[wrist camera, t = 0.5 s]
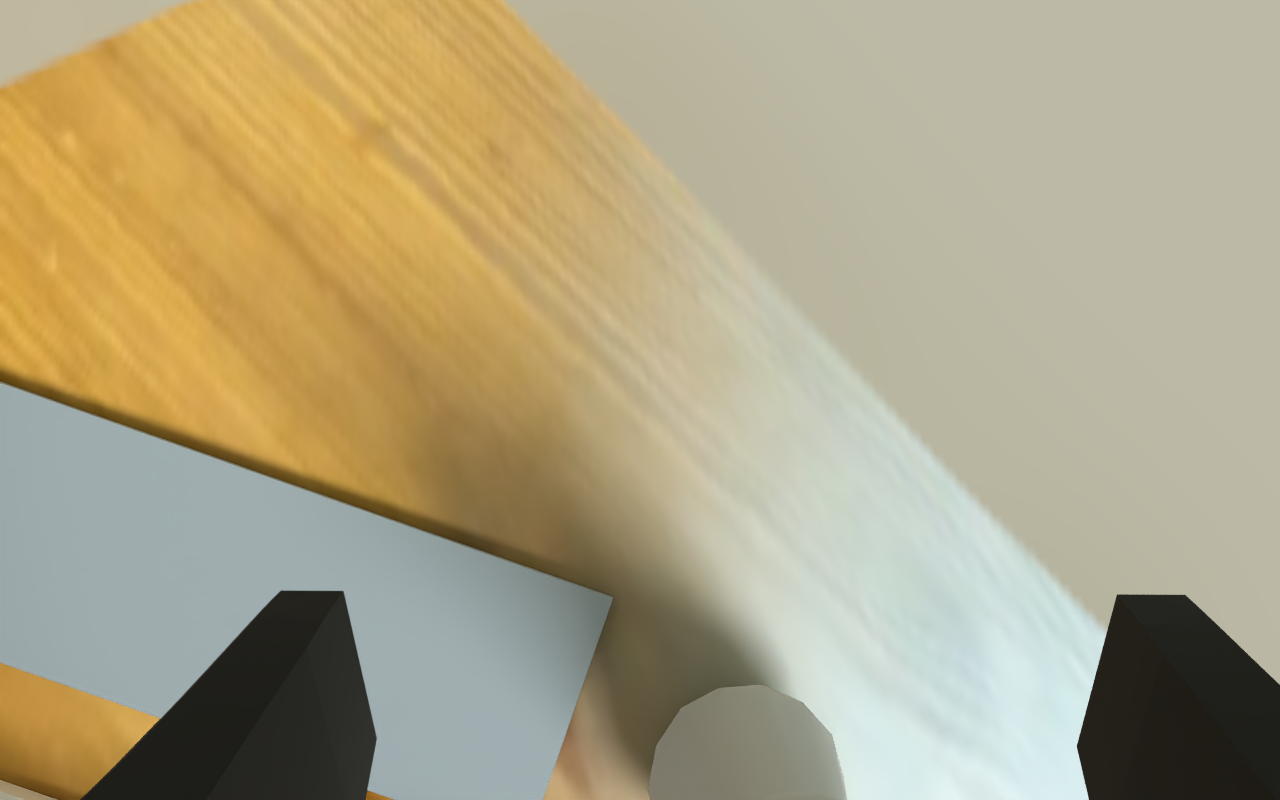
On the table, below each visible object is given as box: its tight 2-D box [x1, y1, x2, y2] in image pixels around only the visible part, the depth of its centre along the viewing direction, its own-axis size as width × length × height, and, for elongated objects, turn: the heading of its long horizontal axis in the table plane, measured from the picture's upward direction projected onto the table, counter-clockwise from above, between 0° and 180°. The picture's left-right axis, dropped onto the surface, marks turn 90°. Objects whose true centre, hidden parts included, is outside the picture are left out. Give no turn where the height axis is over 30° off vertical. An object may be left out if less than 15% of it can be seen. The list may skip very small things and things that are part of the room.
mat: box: [0, 381, 613, 800], centre depth 35 cm, size 8×25×1 cm, turn 70°
